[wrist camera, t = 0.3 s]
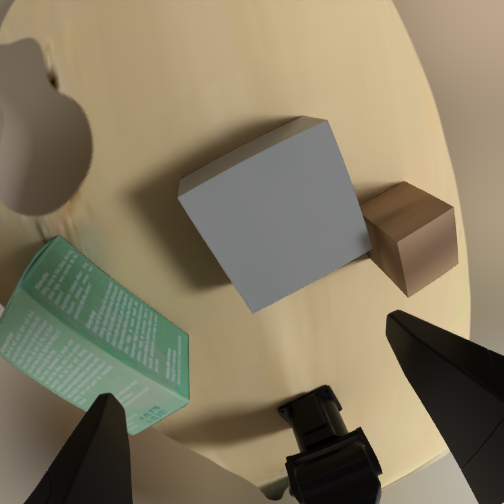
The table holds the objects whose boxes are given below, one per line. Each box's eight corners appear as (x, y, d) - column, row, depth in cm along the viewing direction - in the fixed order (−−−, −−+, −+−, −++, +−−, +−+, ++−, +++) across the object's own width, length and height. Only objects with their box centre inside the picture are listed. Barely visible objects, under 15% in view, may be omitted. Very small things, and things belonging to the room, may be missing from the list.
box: (56, 228, 19) (11, 285, 13) (190, 330, 25) (195, 403, 19) (19, 289, 21) (-18, 349, 14) (140, 372, 27) (135, 439, 20)
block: (415, 230, 25) (458, 263, 20) (369, 257, 25) (408, 297, 20) (404, 181, 23) (453, 206, 17) (353, 208, 23) (397, 242, 18)
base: (347, 225, 23) (372, 248, 20) (243, 281, 24) (252, 313, 20) (303, 115, 19) (327, 120, 16) (179, 179, 20) (177, 197, 16)
